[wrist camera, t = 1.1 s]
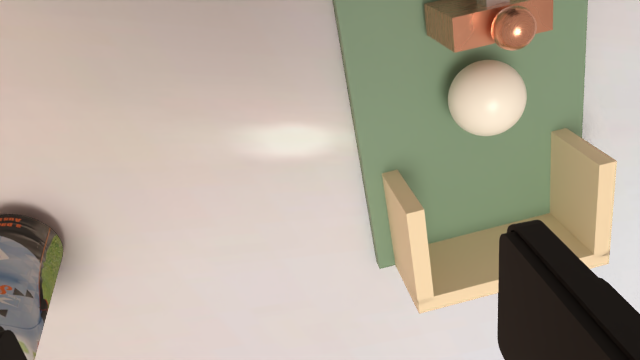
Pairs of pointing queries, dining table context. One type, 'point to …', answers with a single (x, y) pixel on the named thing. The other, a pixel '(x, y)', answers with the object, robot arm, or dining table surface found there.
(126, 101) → the dining table surface
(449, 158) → the pitch
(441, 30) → the copper sphere contraption
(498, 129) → the ball
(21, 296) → the beverage can
